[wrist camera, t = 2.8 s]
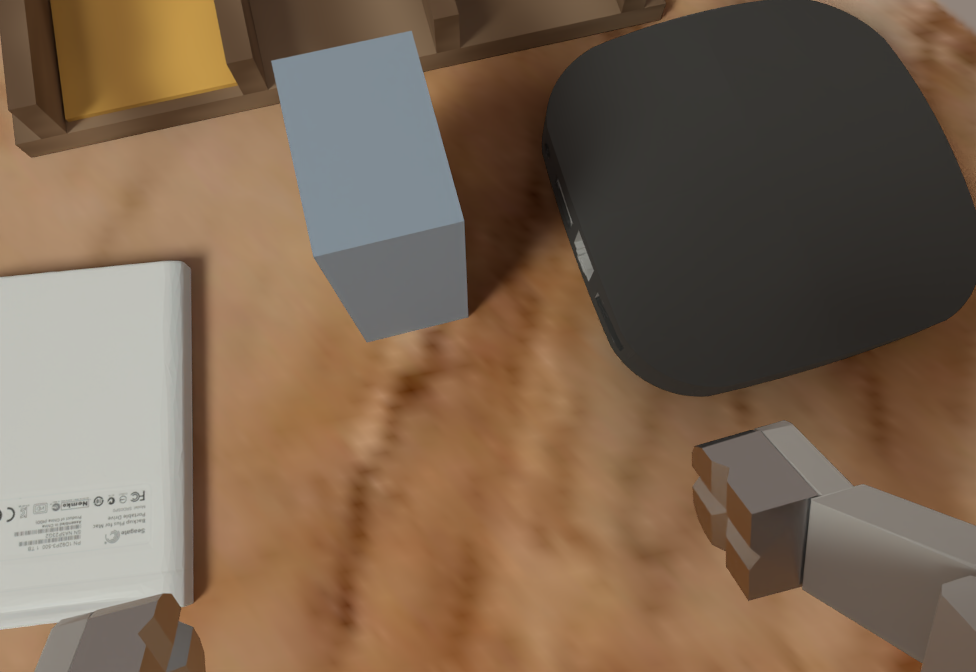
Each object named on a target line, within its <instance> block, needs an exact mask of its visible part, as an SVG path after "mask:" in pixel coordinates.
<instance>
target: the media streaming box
mask: <svg viewBox="0 0 976 672" xmlns="http://www.w3.org/2000/svg"><path fill="white" fill-rule="evenodd" d="M542 154H543V157H544V161H545V164H546V168H547V171H548V175H549V178H550V182H551V185H552V188H553V192H554V195H555V198H556V201H557V205H558V208H559V211H560V214H561V217H562V220H563V223H564V226H565V229H566V232H567V235H568V238H569V241H570V244H571V247H572V249H573V252H574V255H575V258H576V260H577V263H578V266H579V269H580V271H581V274H582V277H583V279H584V282H585V284H586V287H587V290H588V292H589V295H590V297H591V300H592V302H593V305H594V307H595V310H596V312H597V315H598V317H599V320H600V322H601V324H602V327H603V329H604V331H605V334H606V336H607V338H608V341H609V343H610V345H611V347H612V349H613V350H614V352H615V353H616V354H617V356H618V357H619V358H620V359H621V361H622V362H623V363H624V364H625V365H626V366H627V367H628V368H629V369H630V370H632V371H633V372H634V373H635V374H636V375H638V376H639V377H641V378H642V379H644V380H645V381H647V382H649V383H650V384H652V385H654V386H656V387H659V388H661V389H663V390H666V391H669V392H672V393H676V394H681V395H687V396H711V395H715V394H720V393H724V392H728V391H732V390H736V389H741V388H745V387H749V386H752V385H756V384H760V383H764V382H768V381H771V380H775V379H779V378H782V377H786V376H789V375H793V374H796V373H800V372H803V371H807V370H810V369H813V368H816V367H820V366H823V365H826V364H829V363H832V362H836V361H839V360H842V359H845V358H848V357H851V356H854V355H857V354H860V353H863V352H865V351H868V350H871V349H874V348H877V347H880V346H882V345H885V344H888V343H891V342H893V341H896V340H899V339H901V338H904V337H906V336H909V335H912V334H914V333H917V332H919V331H921V330H924V329H926V328H928V327H931V326H933V325H935V324H938V323H940V322H943V321H945V320H947V319H948V318H950V317H951V316H953V315H954V314H955V313H956V312H957V311H958V310H959V309H960V308H961V307H962V306H963V305H964V304H965V303H966V301H967V300H968V298H969V297H970V295H971V293H972V292H973V290H974V287H975V285H976V210H975V207H974V204H973V201H972V198H971V195H970V193H969V190H968V187H967V185H966V182H965V180H964V177H963V175H962V172H961V170H960V167H959V165H958V163H957V160H956V158H955V156H954V154H953V151H952V149H951V147H950V145H949V143H948V141H947V139H946V136H945V134H944V132H943V130H942V128H941V126H940V125H939V123H938V121H937V119H936V117H935V115H934V113H933V111H932V110H931V108H930V106H929V104H928V103H927V101H926V99H925V97H924V96H923V94H922V92H921V91H920V89H919V88H918V86H917V84H916V83H915V81H914V80H913V78H912V77H911V75H910V74H909V72H908V71H907V69H906V68H905V66H904V65H903V63H902V62H901V61H900V59H899V58H898V56H897V55H896V54H895V52H894V51H893V50H892V48H891V47H890V46H889V44H888V43H887V42H886V41H885V39H884V38H883V37H881V36H880V35H879V34H878V33H877V32H876V31H875V30H873V29H872V28H871V27H869V26H868V25H867V24H865V23H864V22H862V21H861V20H859V19H857V18H856V17H854V16H852V15H850V14H848V13H846V12H844V11H842V10H840V9H837V8H835V7H832V6H830V5H827V4H824V3H820V2H816V1H812V0H763V1H756V2H749V3H743V4H737V5H731V6H726V7H721V8H716V9H712V10H707V11H703V12H699V13H695V14H691V15H687V16H683V17H680V18H676V19H673V20H669V21H666V22H662V23H659V24H656V25H653V26H649V27H646V28H643V29H641V30H638V31H635V32H632V33H629V34H626V35H623V36H621V37H618V38H615V39H613V40H610V41H608V42H605V43H603V44H600V45H598V46H595V47H593V48H591V49H590V50H588V51H586V52H585V53H584V54H582V55H581V56H579V57H578V58H577V59H576V60H575V61H574V62H572V63H571V65H570V66H569V67H568V68H567V69H566V70H565V71H564V72H563V74H562V75H561V76H560V78H559V79H558V81H557V82H556V84H555V86H554V88H553V90H552V93H551V95H550V98H549V102H548V107H547V112H546V118H545V124H544V130H543V136H542Z"/></svg>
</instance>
